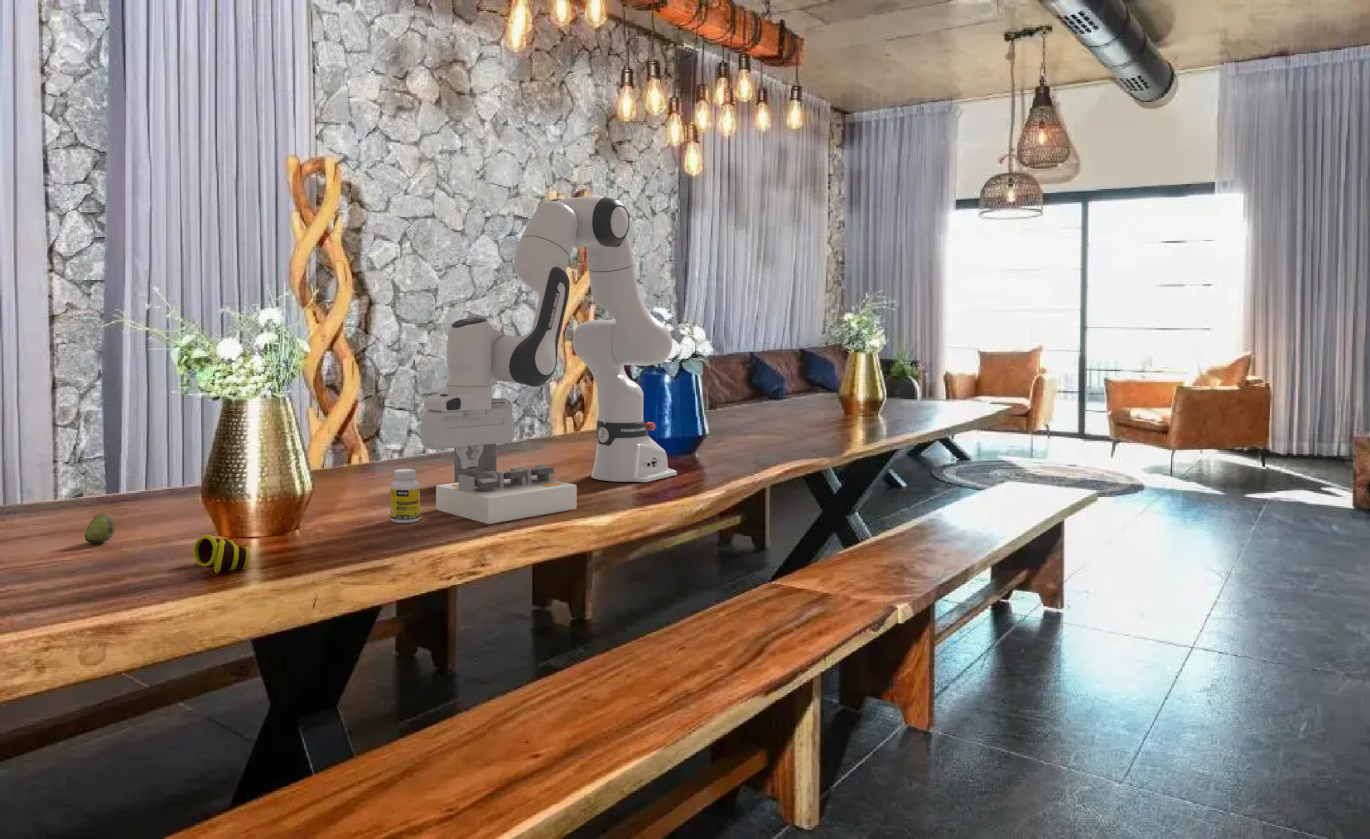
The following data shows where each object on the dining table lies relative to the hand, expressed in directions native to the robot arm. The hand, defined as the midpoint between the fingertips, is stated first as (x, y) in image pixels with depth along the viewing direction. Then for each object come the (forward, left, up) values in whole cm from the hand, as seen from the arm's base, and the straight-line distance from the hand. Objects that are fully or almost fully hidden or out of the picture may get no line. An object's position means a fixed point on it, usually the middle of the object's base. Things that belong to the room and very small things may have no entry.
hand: (469, 468), depth 192 cm
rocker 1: (0, +3, -2) cm, 4 cm away
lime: (+61, -19, -9) cm, 65 cm away
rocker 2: (-7, +3, -2) cm, 8 cm away
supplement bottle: (+14, -1, -9) cm, 17 cm away
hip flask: (-16, -22, -9) cm, 29 cm away
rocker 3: (-14, +3, -2) cm, 15 cm away
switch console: (-7, +3, -9) cm, 12 cm away
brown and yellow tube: (+52, +10, -9) cm, 54 cm away
